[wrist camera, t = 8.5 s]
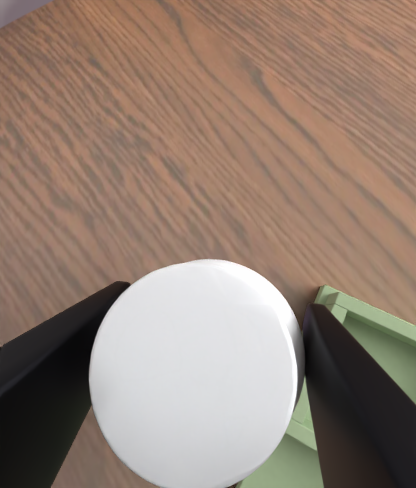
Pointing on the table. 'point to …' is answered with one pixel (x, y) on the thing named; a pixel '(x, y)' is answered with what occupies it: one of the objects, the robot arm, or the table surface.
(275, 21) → the table surface
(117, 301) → the pill bottle
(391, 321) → the socket pad
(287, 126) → the table surface
